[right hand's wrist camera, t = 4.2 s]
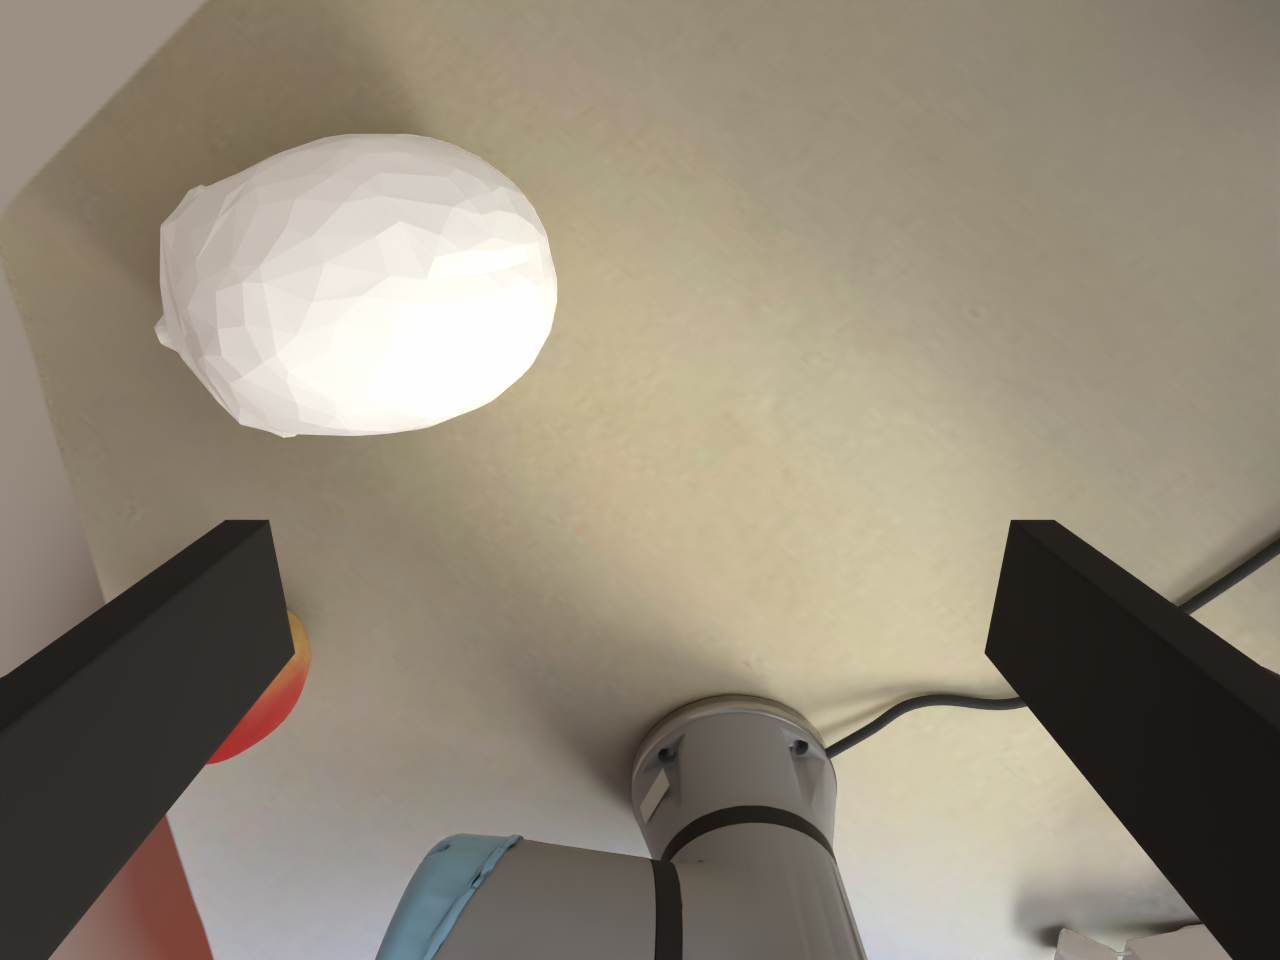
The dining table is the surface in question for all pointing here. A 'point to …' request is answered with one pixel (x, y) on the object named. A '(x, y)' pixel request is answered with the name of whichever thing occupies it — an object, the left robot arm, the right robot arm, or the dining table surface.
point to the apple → (271, 699)
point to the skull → (357, 286)
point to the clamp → (1145, 946)
